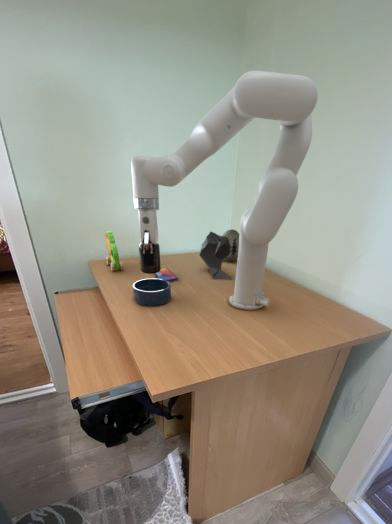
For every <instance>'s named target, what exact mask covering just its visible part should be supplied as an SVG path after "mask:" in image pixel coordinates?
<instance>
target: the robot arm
mask: <svg viewBox="0 0 392 524" xmlns="http://www.w3.org/2000/svg"><path fill="white" fill-rule="evenodd" d="M318 94H319V93H318V88H317V85H316V83H315V82H314V81H313V80H312V79H311V78H310V77H308V76H306V75H302V74H294V73H283V72H276V71H275V72H274V71H266V70H248V71H246V72H244V73H243V74H241V75H240V77H239V78H238V79H237V81H236V82H235V84H234V86H233V87H232V88H231V89H230V90H229V91H228V92H227V93H226V94H225V95H224V96H223V97H222V98H221V99H220V100H219V101H218V102H217V103H216V104H215V105H214V106H213V107H211V109H209V110H208V111H207V112H206V113H205V114H204V115H203V116H202V117H201V118H200V119H199V121H198V122H197V123H196V125H195V126H194V128H193V130H192V131H191V132H190V134H189V135H188V136H187V138H186V139H185V140H184V141H182V143H181V144H180V145H179V146H178V147H177V148H175V150H173V152H171V153H170V154H169V155H164V156H158V157H155V156H153V155H134V156H132V157H131V159H130V169H131V180H132V182H131V183H132V193H133V205H134V210H135V211H138V224H139V225H138V227H139V236H140V238H139V239H140V243H142V244H143V248H144V253H143V257H144V266H154V254H153V250H152V245H153V244H152V243H154V244H155V245H156V244H157V243H158V241H159V230H158V229H159V228H158V213H157V211H159V210H160V197H159V196H160V194H159V193H160V192H159V186H163V187H168V188H169V187H172V188H173V187H175V186H177V185H179V184H180V183H182V181H183V180H185V179H186V178H187V177H188V176H189V175H190V174H191V173H193V172H194V170H196V169H197V168H198V167H199V166H200V165H201V164H202V163H204V162H205V161H206V160H207V159H209V158H210V157H212V156H213V155H215V154H216V153H217V152H218V151H219V150H221V149H222V148H223V147H224V146H225V145H226V144H227V143H228V142H229V141H231V140H232V139H233V138H234V137H235V136H236V135H238V133H239V132H241V131H242V130H243V129H244V128H245V127H246V126H248V125H249V123H251V122H252V121H253V120H254V119H255V118H257V119H263V120H271V121H272V120H273V121H277V123H278V127H279V138H278V140H277V144H276V146H275V149H274V151H273V153H272V156H271V158H270V160H269V162H268V164H267V166H266V168H265V170H264V173H262V174H263V175H262V176H261V178H260V180H259V183H258V188H257V189H258V196H257V198H256V199H255V202H254V204H253V205H252V206H250V207H248V208H247V209H246V210H245V211H244V212H243V214H242V215H241V218H240V221H239V231H238V233H239V249H238V258H237V259H236V260H237V261H236V271H235V278H234V279H235V280H234V291H233V294H232V295H231V296H229V299H228V303H229V304H230V305H231V306H233V307H235V308H236V309H239V310H240V309H241V310H247V311H248V310H249V311H252V310H253V311H255V310H259V309H261V308H263V307H266V308H268V307H269V306H270V303H271V299H270V298H268V297H265V292H264V291H263V286H264V278H265V272H266V267H267V259H268V254H269V243H270V242H272V241H273V239H274V238H275V237H276V235H277V234H278V232H279V231H280V229H281V226H282V225H283V223H284V221H285V219H286V218H287V215H288V214H289V212H290V210H291V208H292V206H293V204H294V202H295V200H296V198H297V195H298V191H299V180H298V178H297V175H298V173H299V171H300V169H301V167H302V165H303V163H304V161H305V159H306V156H307V155H308V152H309V149H310V146H311V143H312V138H313V137H312V136H313V122H312V115H311V114H312V113H313V112H314V110H315V108H316V105H317V103H318V98H319V97H318ZM149 242H151V243H149ZM150 249H151V250H150Z"/></svg>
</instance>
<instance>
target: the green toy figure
mask: <svg viewBox="0 0 392 524" xmlns="http://www.w3.org/2000/svg"><path fill="white" fill-rule="evenodd" d="M105 244H106V248H107V252H108V256H106V257H105V261H106V266H110V270H111V272H115V271H117V270H120V271H123V270H124V264H123V262H122V261H120V255H119V251H118V247H117V245H116V241H115V237H114V234H113V232H112V231H105Z"/></svg>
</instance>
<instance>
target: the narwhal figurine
mask: <svg viewBox="0 0 392 524" xmlns="http://www.w3.org/2000/svg"><path fill="white" fill-rule="evenodd" d="M230 250H231V244H230V242H229V239H228V238H227V237H226V236H222V235H220V234H217V233H216V232H214V231H209V233H208V235H206V238H205V240H204V241H203V242H202V244H201V247H200V251H199V257H200V258H201V260H202V261H203V262H204V263H205V265H206V266H207V273H210V274H211V276H212V279H213V280H233V278H232V276H230V275H229V274H227V273H226V272H224V271H223V270H222V264H223V261H224V258H225V257H227V256H228V255H229V253H230V252H231V251H230Z"/></svg>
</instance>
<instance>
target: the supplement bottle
mask: <svg viewBox="0 0 392 524" xmlns="http://www.w3.org/2000/svg"><path fill="white" fill-rule="evenodd" d="M149 243H151V242H149ZM152 244H153V245H152V250H153V254H154V266H144V257H143V253H144V248H143V244H142V243H141V242H140V243H139V244H138V254H139V264H140V271H141V272H142V273H143V274H148V275H150V274H153V275H154V273H158V272H159V271H160V270H161V268H162V265H161V250H160V249H161V248H160V244H159V243H158V242H157V244H156V245H155V244H154V243H152ZM150 250H151V249H150Z"/></svg>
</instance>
